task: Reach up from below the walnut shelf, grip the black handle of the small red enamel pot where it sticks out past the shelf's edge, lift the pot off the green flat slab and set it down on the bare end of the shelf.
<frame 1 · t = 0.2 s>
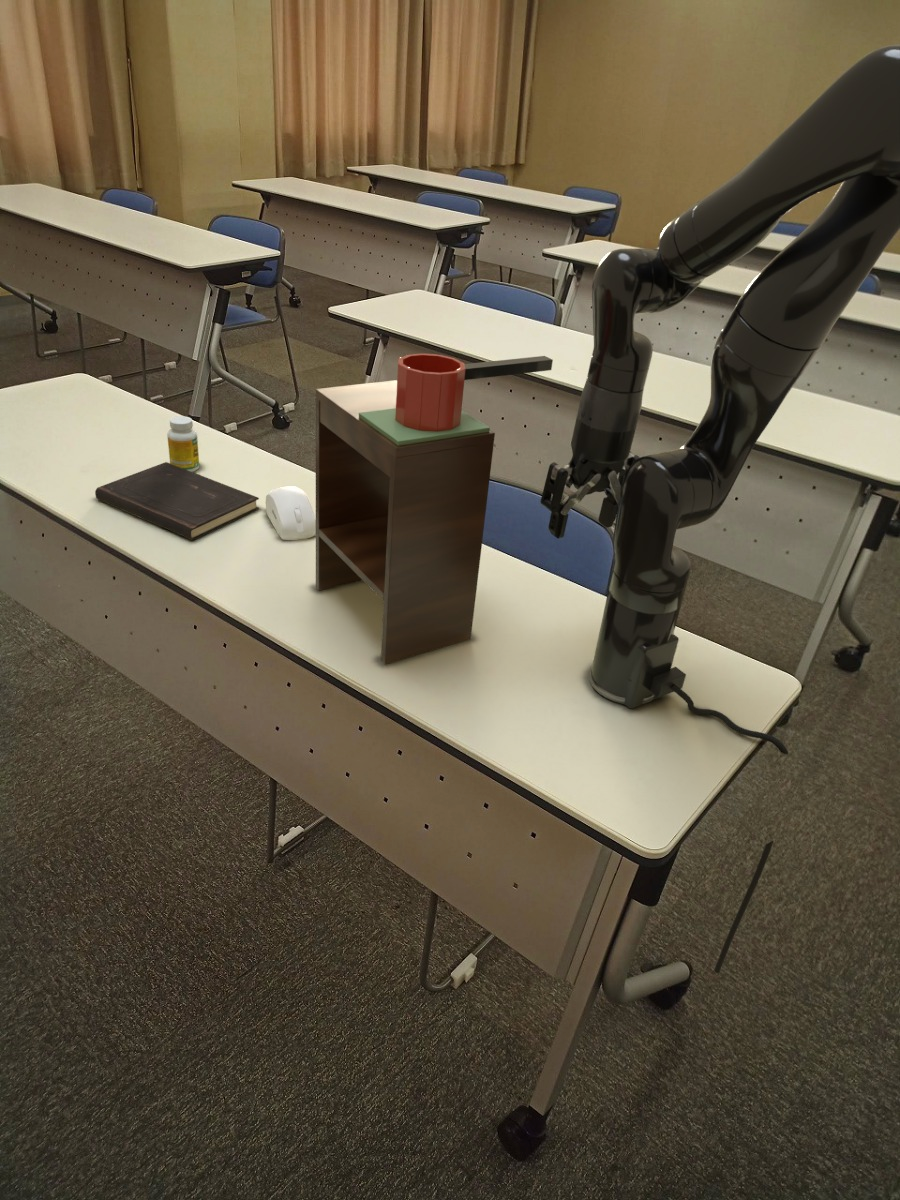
hand: (581, 529, 115), 17 cm above the table, tool pointing down, fingers open, 8 cm apart
supplement bottle: (185, 468, 162), on the table
shelf: (390, 612, 125), on the table
hardcover book: (178, 506, 148), on the table
pot: (427, 419, 105), point 32 cm above the table, touching green flat slab
green flat slab: (423, 424, 105), resting on shelf
computer mouse: (290, 524, 146), on the table
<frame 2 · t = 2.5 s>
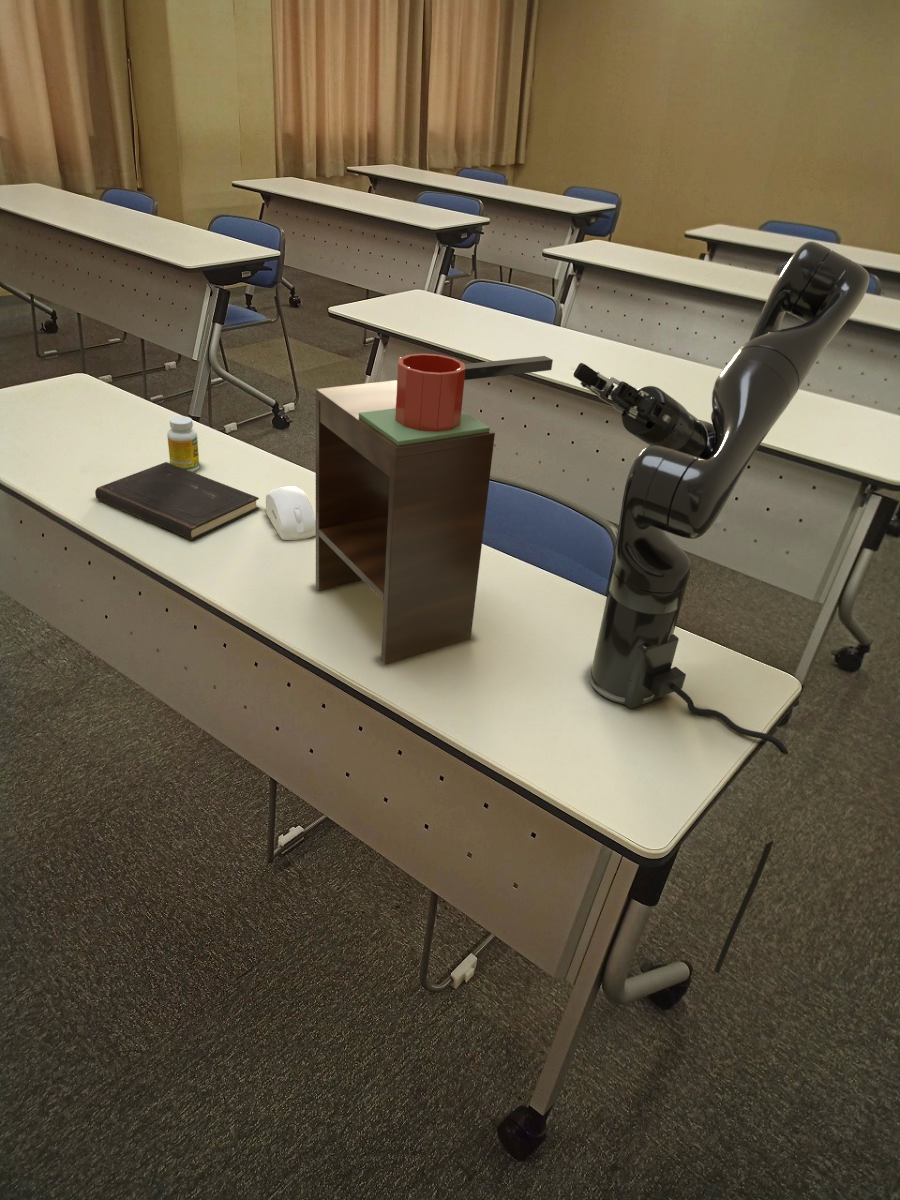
hand: (597, 378, 117), 34 cm above the table, tool pointing upward, fingers open, 8 cm apart
nothing on the table moved.
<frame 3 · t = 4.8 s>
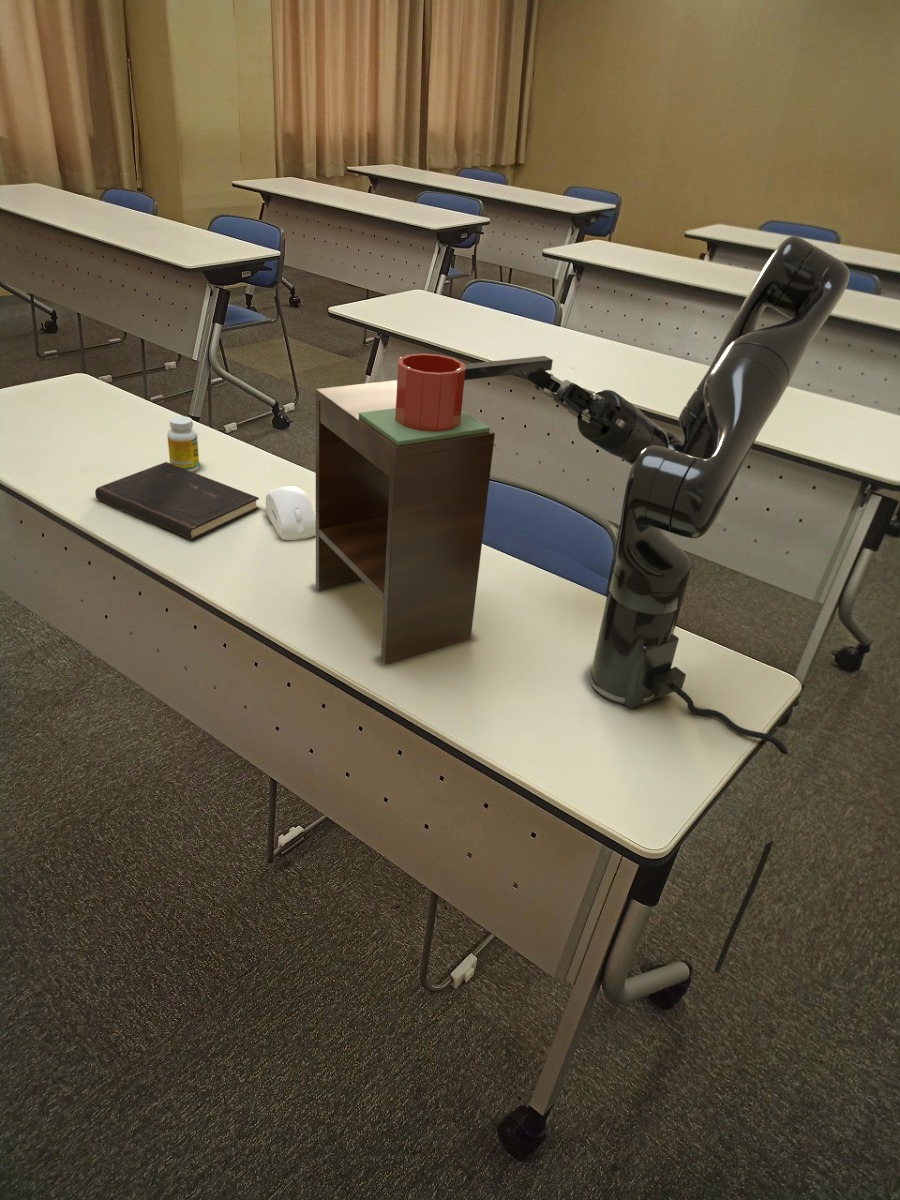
hand: (548, 380, 112), 35 cm above the table, tool pointing upward, fingers open, 8 cm apart
nothing on the table moved.
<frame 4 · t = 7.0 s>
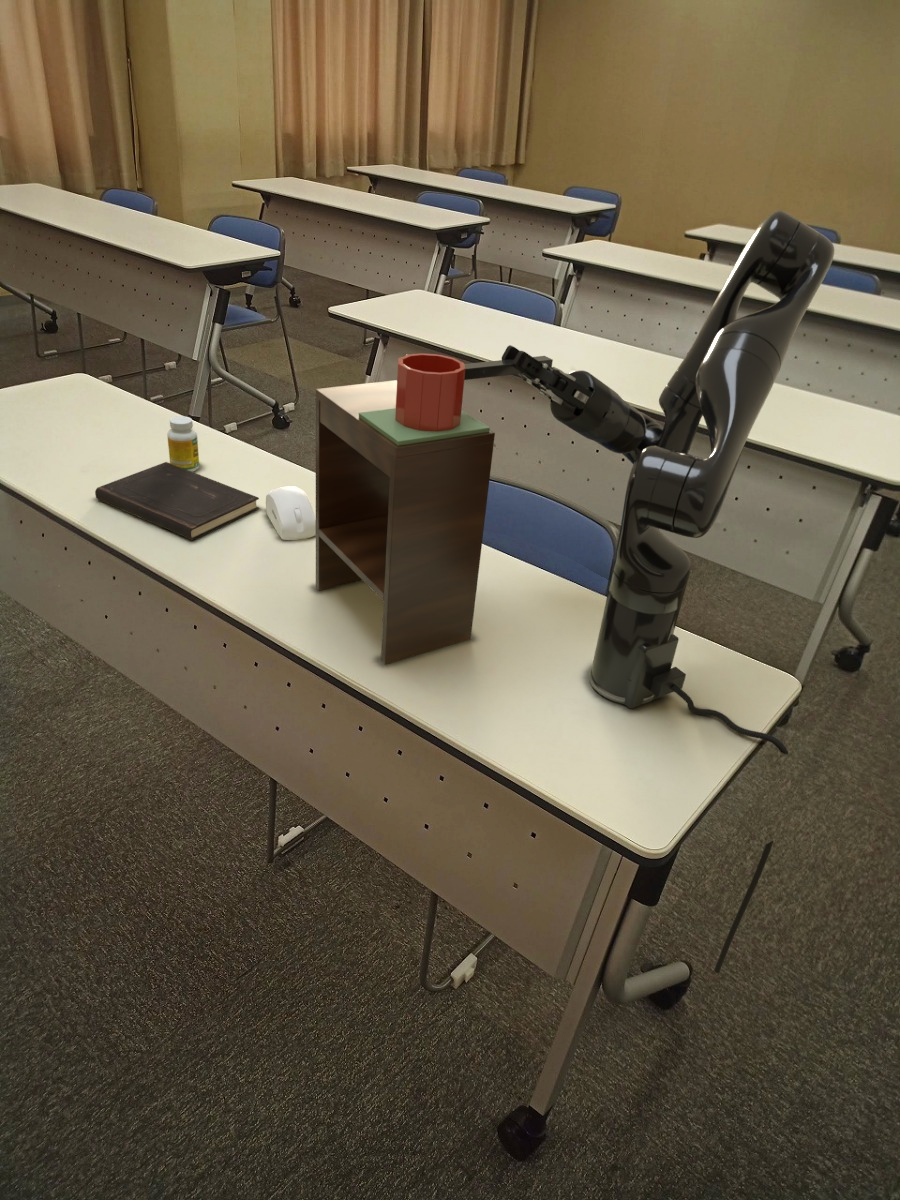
hand: (512, 355, 107), 39 cm above the table, tool pointing upward, fingers closed on pot
pot: (427, 419, 105), point 32 cm above the table, touching gripper, green flat slab
everything else where it was.
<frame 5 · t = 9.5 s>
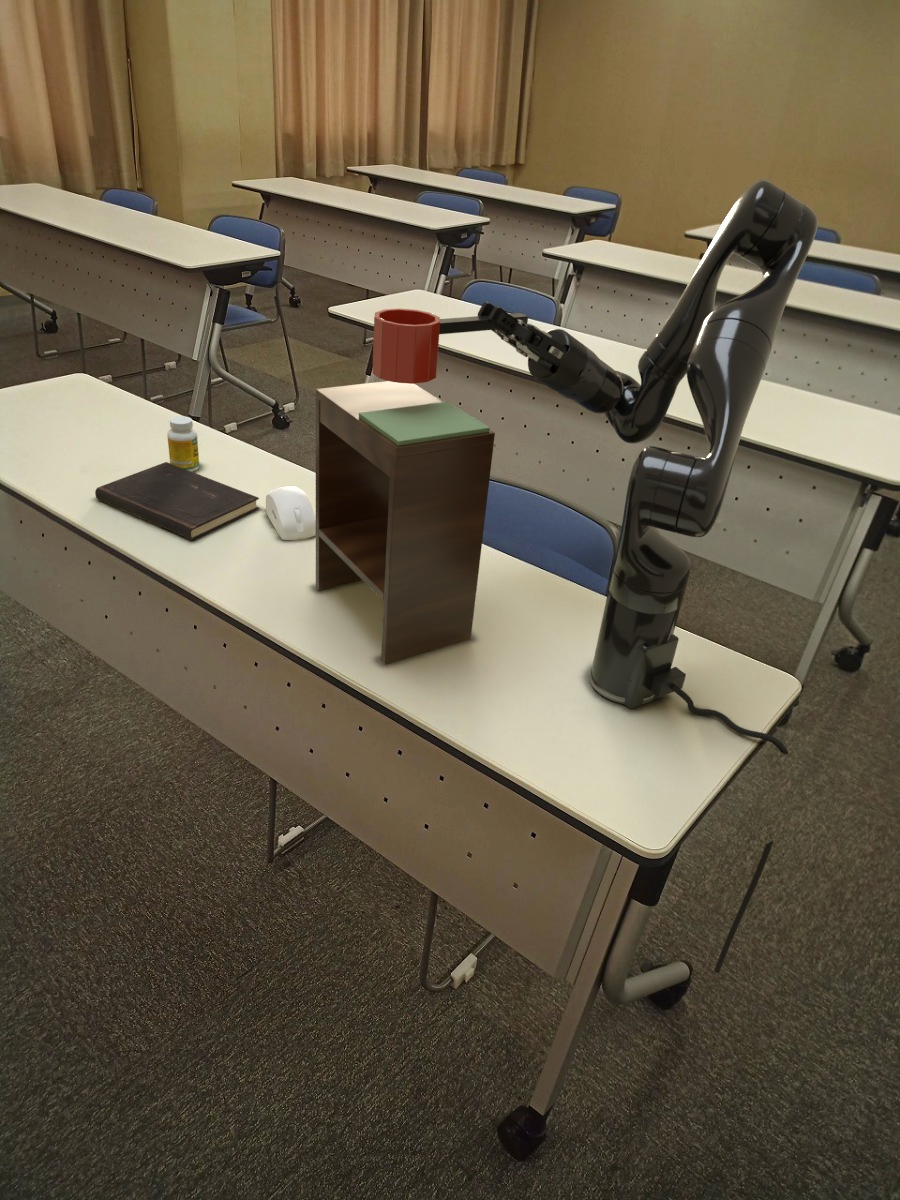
hand: (487, 311, 109), 42 cm above the table, tool pointing upward, fingers closed on pot
pot: (404, 373, 107), point 35 cm above the table, touching gripper
everything else where it was.
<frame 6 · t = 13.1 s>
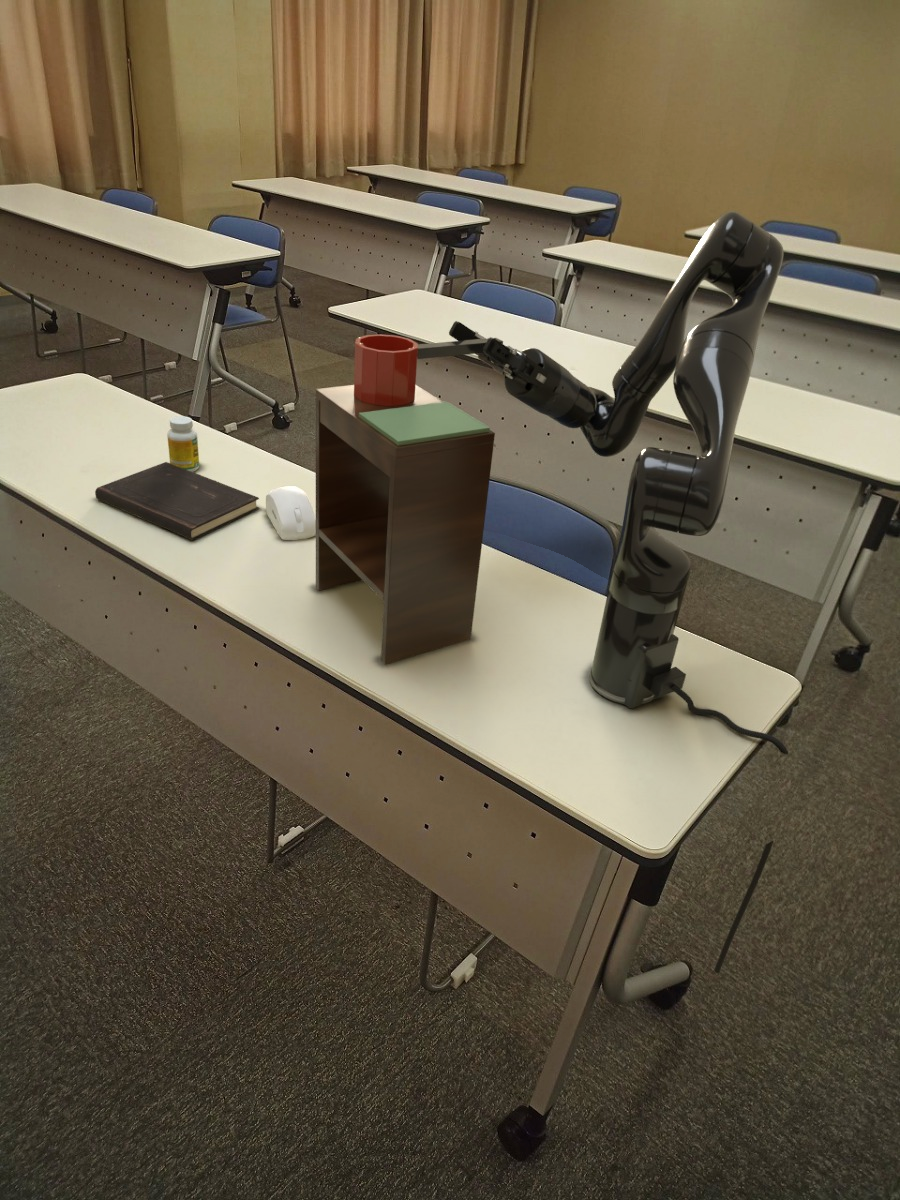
hand: (469, 335, 115), 38 cm above the table, tool pointing upward, fingers open, 8 cm apart
pot: (384, 395, 113), point 31 cm above the table, touching shelf
everything else where it was.
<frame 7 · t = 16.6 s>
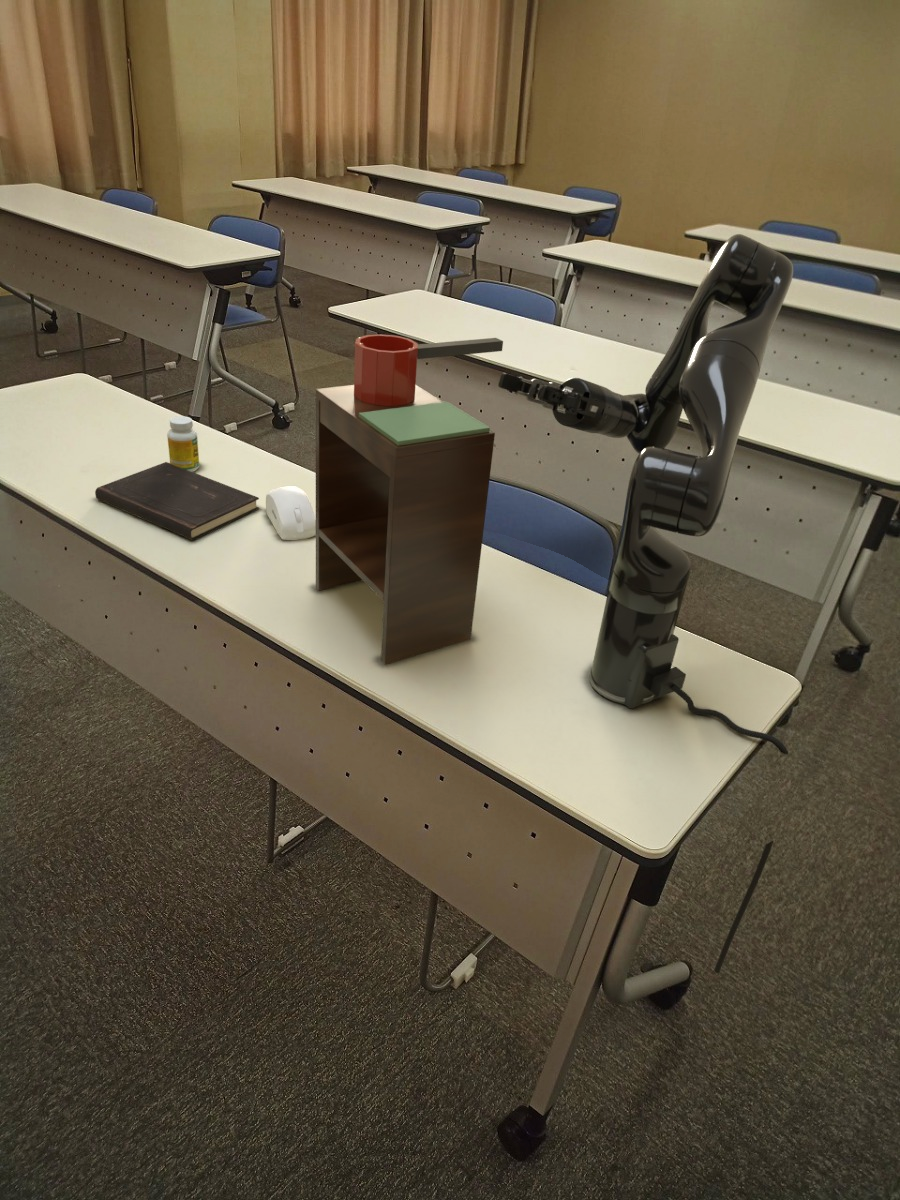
hand: (521, 386, 123), 30 cm above the table, tool pointing upward, fingers open, 8 cm apart
nothing on the table moved.
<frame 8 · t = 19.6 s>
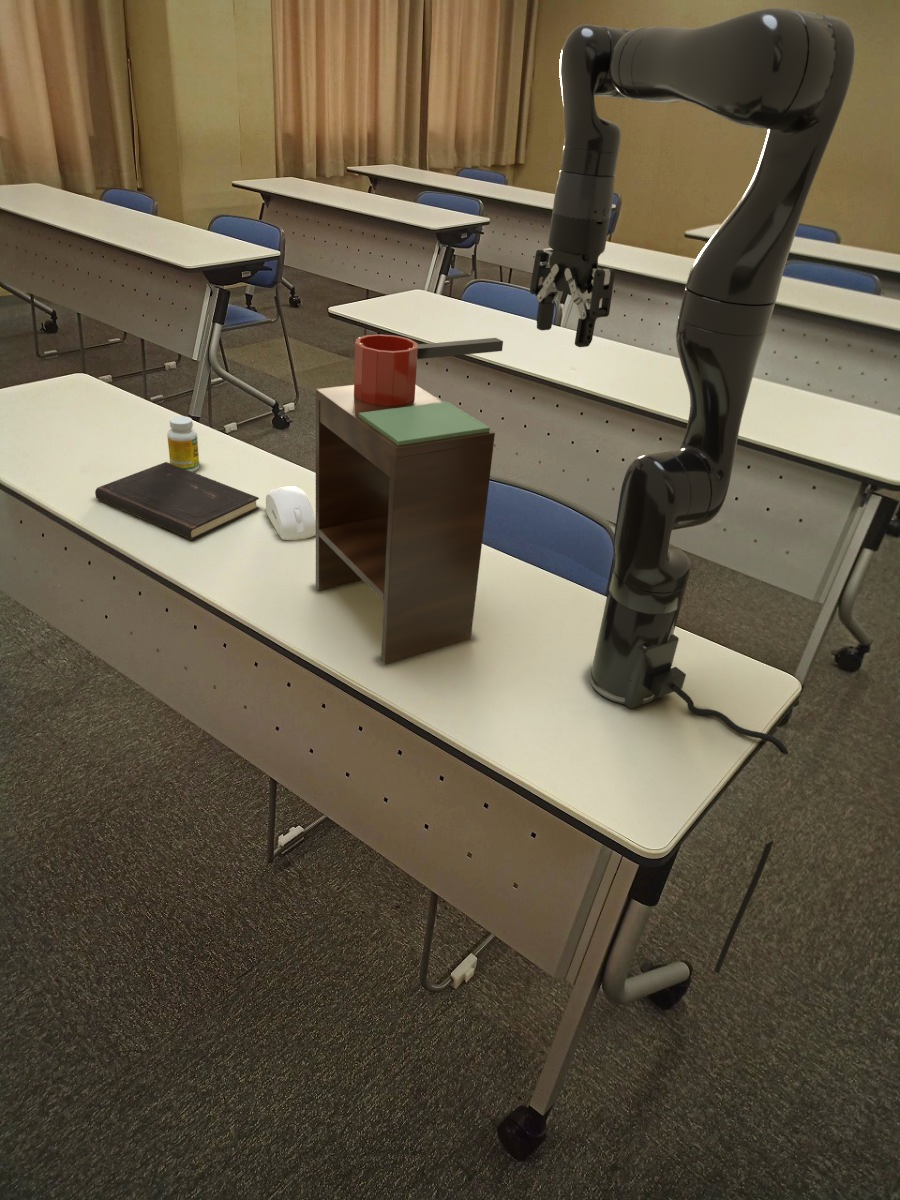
hand: (562, 337, 118), 38 cm above the table, tool pointing down, fingers open, 8 cm apart
nothing on the table moved.
at the end: pot inside the target area on the shelf (0.7 cm from its centre), point 31.0 cm above the shelf's base; pot touching shelf; pot tilted 0° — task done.
